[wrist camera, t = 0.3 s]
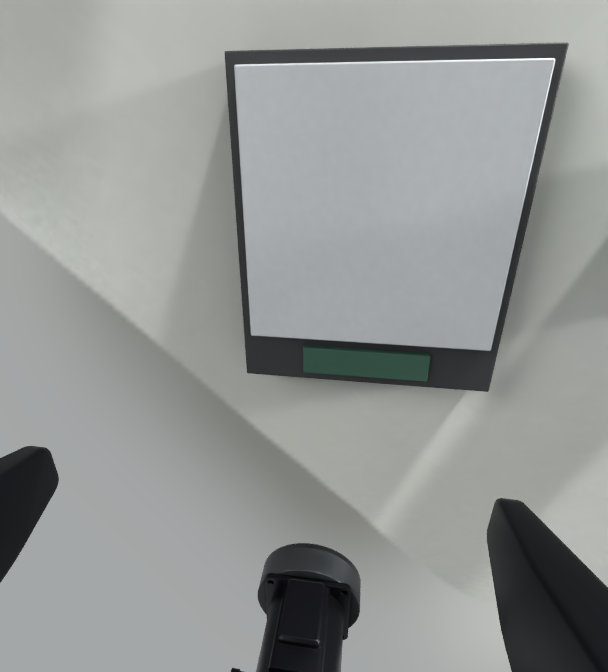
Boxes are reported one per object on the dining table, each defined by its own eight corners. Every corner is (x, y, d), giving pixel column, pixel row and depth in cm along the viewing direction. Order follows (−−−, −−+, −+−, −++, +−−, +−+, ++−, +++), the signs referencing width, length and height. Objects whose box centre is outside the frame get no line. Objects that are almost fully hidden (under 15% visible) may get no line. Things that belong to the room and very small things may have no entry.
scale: (480, 372, 22) (491, 399, 20) (255, 356, 23) (243, 379, 21) (549, 51, 16) (577, 38, 14) (237, 57, 17) (218, 48, 15)
